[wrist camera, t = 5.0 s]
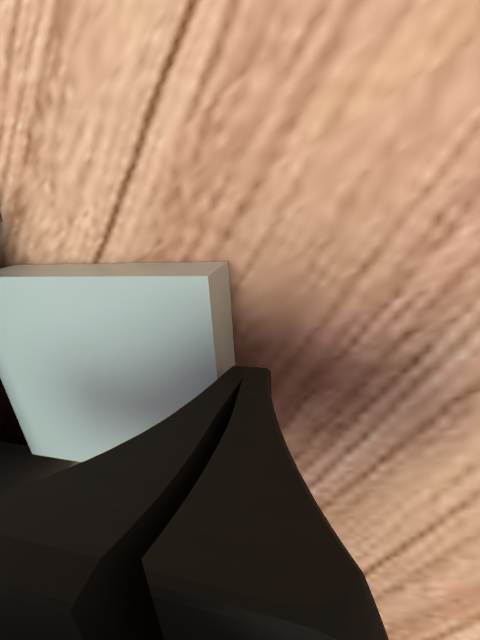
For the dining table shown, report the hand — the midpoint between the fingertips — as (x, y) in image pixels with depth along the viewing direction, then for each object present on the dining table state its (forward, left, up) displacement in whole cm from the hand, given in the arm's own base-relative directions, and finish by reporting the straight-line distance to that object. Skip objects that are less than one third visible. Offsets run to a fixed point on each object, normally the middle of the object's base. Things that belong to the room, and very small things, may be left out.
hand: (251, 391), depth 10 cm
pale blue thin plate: (0, +5, -2) cm, 6 cm away
